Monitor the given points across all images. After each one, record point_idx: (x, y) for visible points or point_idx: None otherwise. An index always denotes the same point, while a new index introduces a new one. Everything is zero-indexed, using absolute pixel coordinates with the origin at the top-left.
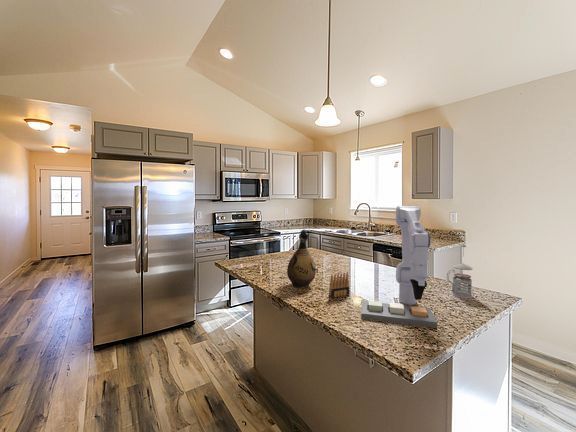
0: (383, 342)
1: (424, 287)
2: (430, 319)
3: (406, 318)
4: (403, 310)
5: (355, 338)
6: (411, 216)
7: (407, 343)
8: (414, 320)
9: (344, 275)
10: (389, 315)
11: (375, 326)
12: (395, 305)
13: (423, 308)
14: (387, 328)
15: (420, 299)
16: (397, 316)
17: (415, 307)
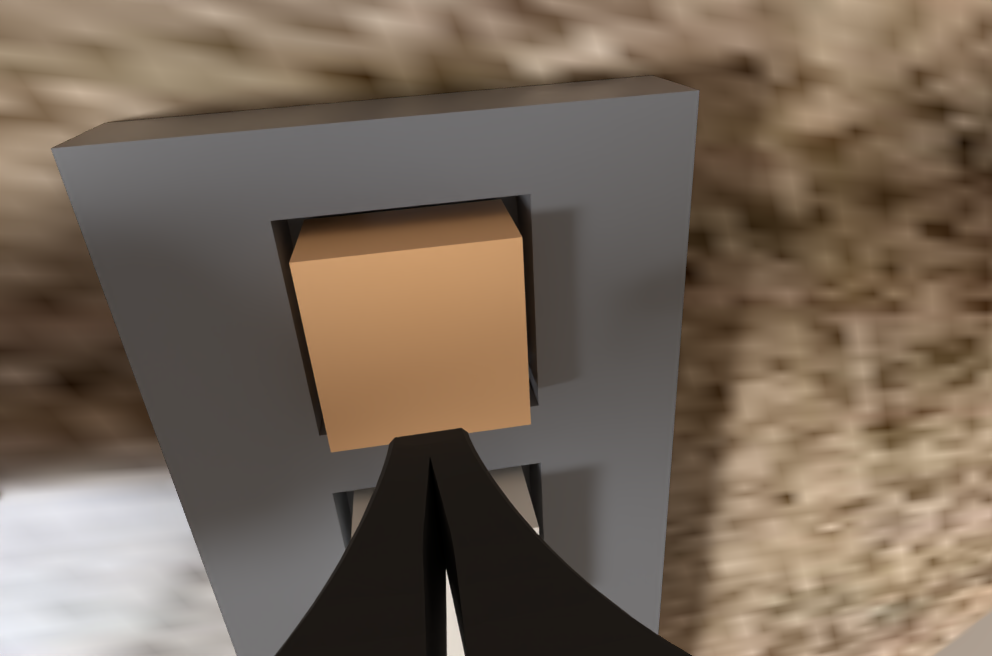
0: (964, 513)
1: (649, 642)
2: (616, 178)
3: (663, 446)
4: (532, 514)
5: (916, 652)
6: None
7: (975, 366)
8: (673, 363)
9: None
10: (630, 589)
11: (700, 598)
12: (455, 617)
13: (346, 286)
14: (717, 522)
15: (469, 441)
16: (632, 526)
17: (358, 396)
